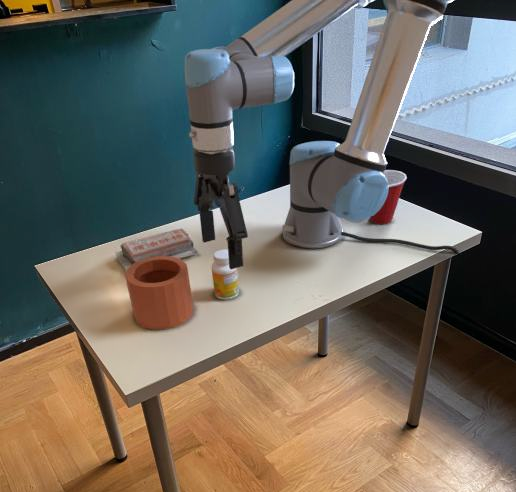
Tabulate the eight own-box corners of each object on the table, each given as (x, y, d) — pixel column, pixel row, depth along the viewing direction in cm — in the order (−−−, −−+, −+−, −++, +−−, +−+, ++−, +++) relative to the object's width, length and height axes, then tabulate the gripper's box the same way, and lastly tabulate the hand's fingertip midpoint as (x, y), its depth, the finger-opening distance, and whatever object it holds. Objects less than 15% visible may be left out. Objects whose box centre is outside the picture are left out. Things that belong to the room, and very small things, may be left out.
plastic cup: (355, 213, 143) (359, 170, 135) (393, 210, 143) (399, 167, 136) (365, 230, 134) (369, 185, 127) (405, 227, 135) (412, 182, 127)
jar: (198, 297, 111) (193, 256, 105) (186, 330, 102) (179, 287, 96) (144, 296, 113) (135, 255, 107) (127, 328, 103) (116, 286, 97)
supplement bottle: (211, 290, 113) (206, 251, 107) (233, 285, 115) (230, 245, 109) (219, 302, 109) (215, 262, 103) (242, 296, 111) (239, 256, 105)
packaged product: (180, 222, 131) (196, 237, 124) (182, 240, 134) (198, 255, 127) (111, 240, 124) (124, 257, 117) (115, 258, 127) (128, 275, 120)
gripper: (170, 134, 101) (183, 234, 114) (223, 171, 83) (231, 284, 96) (205, 129, 103) (214, 227, 116) (264, 163, 86) (266, 274, 98)
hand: (222, 253), depth 106 cm, fingers open, 13 cm apart
